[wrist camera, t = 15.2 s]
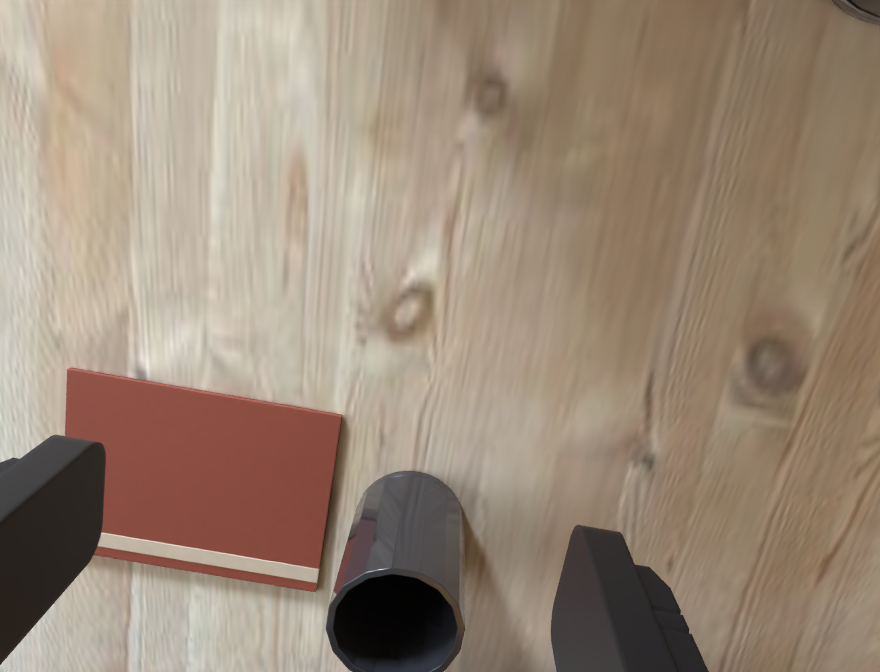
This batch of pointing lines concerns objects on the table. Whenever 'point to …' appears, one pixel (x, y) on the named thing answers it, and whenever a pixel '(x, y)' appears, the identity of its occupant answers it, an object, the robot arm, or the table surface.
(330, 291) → the table surface
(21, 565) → the robot arm
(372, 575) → the black cup
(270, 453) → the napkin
